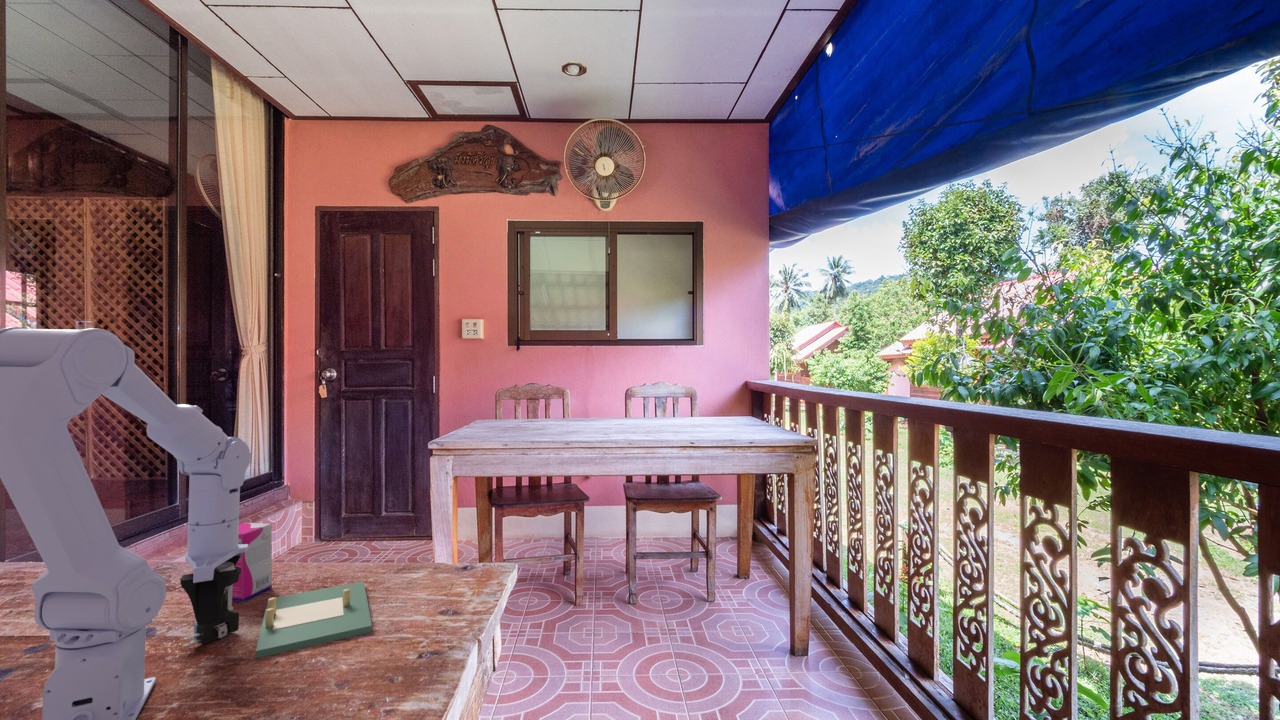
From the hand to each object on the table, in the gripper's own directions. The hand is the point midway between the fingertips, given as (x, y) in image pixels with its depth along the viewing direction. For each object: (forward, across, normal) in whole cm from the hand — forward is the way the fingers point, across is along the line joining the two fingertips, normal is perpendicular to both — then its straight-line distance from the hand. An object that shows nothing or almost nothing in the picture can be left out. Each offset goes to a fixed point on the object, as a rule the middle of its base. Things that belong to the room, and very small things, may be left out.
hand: (211, 614), depth 75 cm
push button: (+3, 0, 0) cm, 4 cm away
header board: (+4, 0, -13) cm, 14 cm away
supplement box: (+4, +16, -2) cm, 17 cm away
